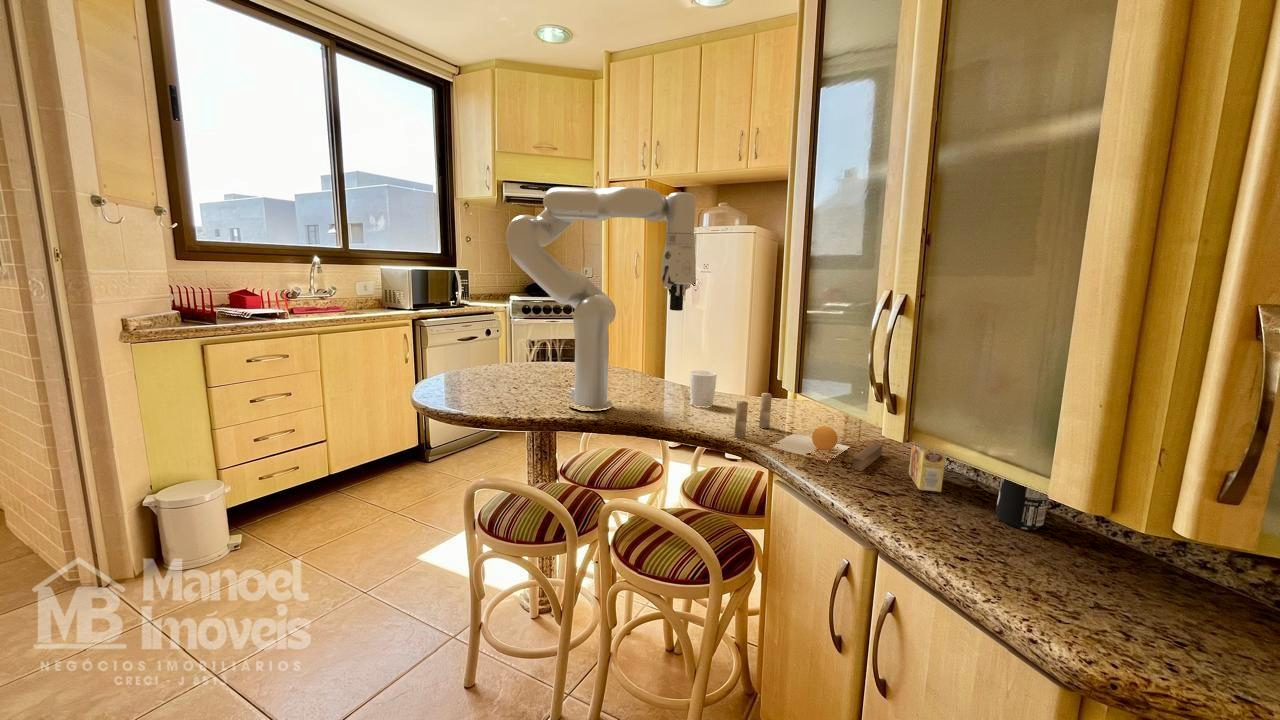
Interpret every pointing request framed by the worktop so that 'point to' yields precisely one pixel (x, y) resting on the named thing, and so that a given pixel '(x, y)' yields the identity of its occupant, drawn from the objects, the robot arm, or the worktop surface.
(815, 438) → the ball
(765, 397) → the post
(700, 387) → the white cup
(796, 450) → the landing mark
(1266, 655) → the worktop surface
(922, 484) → the candy box
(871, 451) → the stopper wall
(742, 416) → the post
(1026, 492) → the beverage can
